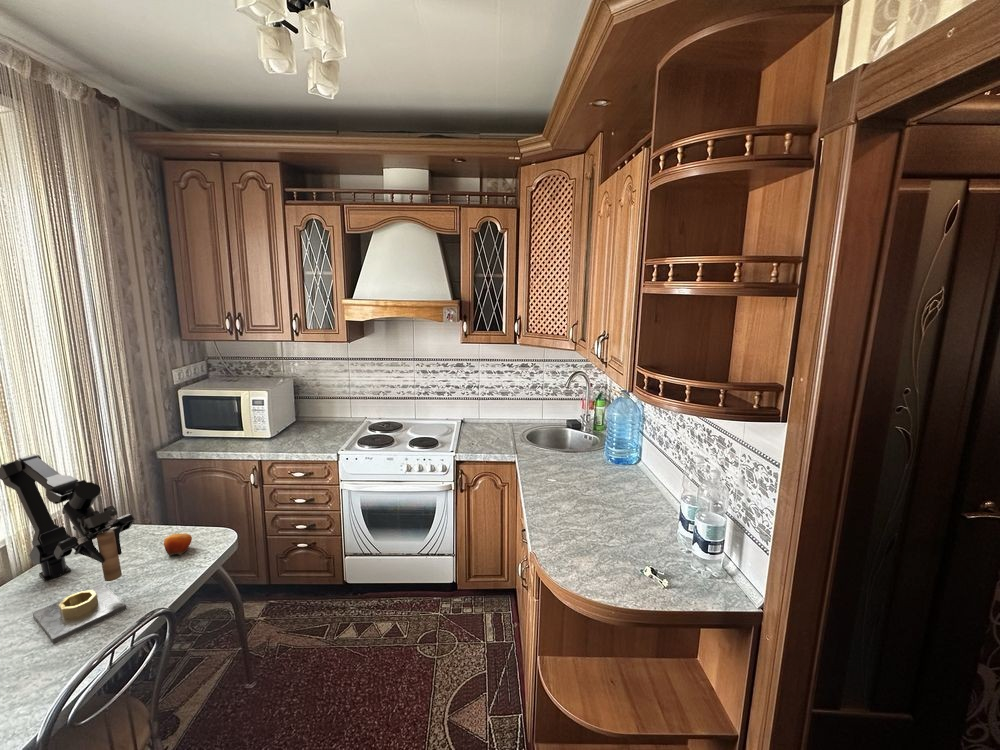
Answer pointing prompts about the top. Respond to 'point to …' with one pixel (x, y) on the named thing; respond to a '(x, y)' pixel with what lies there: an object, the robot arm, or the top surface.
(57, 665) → the top surface
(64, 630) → the cup bracket
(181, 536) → the fruit
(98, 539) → the rail post
